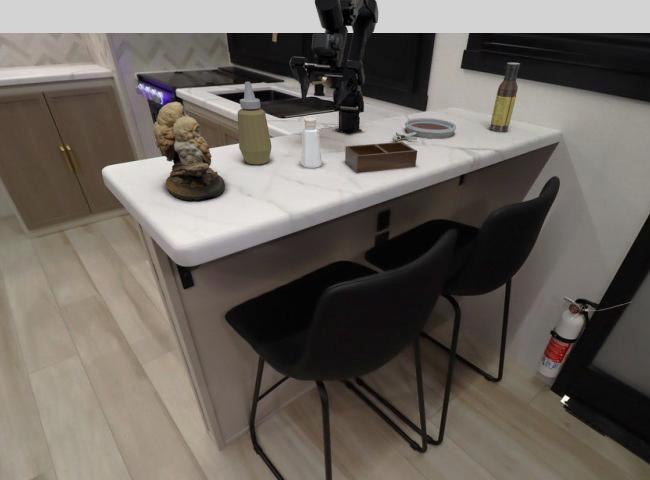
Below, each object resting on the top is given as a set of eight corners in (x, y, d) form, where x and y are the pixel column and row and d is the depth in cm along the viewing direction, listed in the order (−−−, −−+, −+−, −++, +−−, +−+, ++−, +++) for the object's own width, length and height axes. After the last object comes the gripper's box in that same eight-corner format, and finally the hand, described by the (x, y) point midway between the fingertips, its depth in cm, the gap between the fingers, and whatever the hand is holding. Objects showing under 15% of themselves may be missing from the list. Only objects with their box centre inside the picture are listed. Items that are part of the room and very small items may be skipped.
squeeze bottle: (279, 159, 99) (272, 81, 88) (261, 168, 93) (251, 86, 82) (254, 154, 102) (244, 78, 91) (234, 163, 96) (221, 82, 85)
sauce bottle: (501, 127, 134) (518, 61, 122) (511, 132, 130) (529, 64, 117) (485, 127, 133) (500, 61, 121) (494, 132, 128) (511, 64, 116)
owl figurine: (237, 196, 80) (223, 107, 69) (180, 208, 74) (154, 114, 64) (210, 170, 91) (194, 91, 81) (159, 179, 86) (134, 95, 75)
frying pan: (372, 128, 118) (424, 114, 134) (372, 138, 120) (423, 123, 136) (416, 140, 109) (466, 123, 125) (415, 150, 111) (464, 132, 127)
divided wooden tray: (345, 162, 100) (345, 146, 97) (400, 156, 104) (402, 141, 102) (357, 172, 93) (357, 156, 91) (415, 166, 98) (417, 150, 96)
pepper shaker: (313, 169, 94) (312, 122, 87) (296, 165, 96) (293, 118, 89) (326, 164, 98) (325, 118, 91) (309, 159, 100) (307, 114, 93)
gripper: (289, 16, 90) (274, 75, 89) (364, 19, 87) (350, 81, 85) (302, 53, 101) (289, 106, 100) (370, 57, 98) (357, 112, 96)
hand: (320, 101), depth 95 cm, fingers open, 9 cm apart
